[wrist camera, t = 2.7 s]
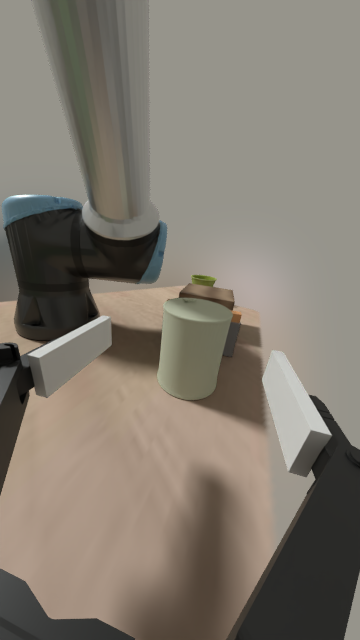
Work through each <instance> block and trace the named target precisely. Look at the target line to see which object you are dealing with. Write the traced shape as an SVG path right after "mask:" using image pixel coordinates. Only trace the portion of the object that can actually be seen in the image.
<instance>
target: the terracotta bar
mask: <svg viewBox="0 0 360 640" xmlns="http://www.w3.org/2000/svg"><path fill="white" fill-rule="evenodd" d="M168 300H170V299H168ZM168 300H167V301H168ZM230 311H231V310H230ZM231 312H232V314H233V317H232V319H231V322H235V323H240V319H241V312H237V311H231Z"/></svg>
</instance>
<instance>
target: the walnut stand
mask: <svg viewBox="0 0 360 640" xmlns="http://www.w3.org/2000/svg"><path fill="white" fill-rule="evenodd" d="M179 298H196V299H203V300H208V301H212V302H215V303H218V304H221V305H223V306H225V307H227V308H228V309H229V310H231V311H233V306H234V296H233V291H232V290H227V289H221V288H215V287H209V286H203V285H197V284H188V285H187V286H186V287H185V288H184V289H183V290H182V291H181V292H180V293H179Z"/></svg>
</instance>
